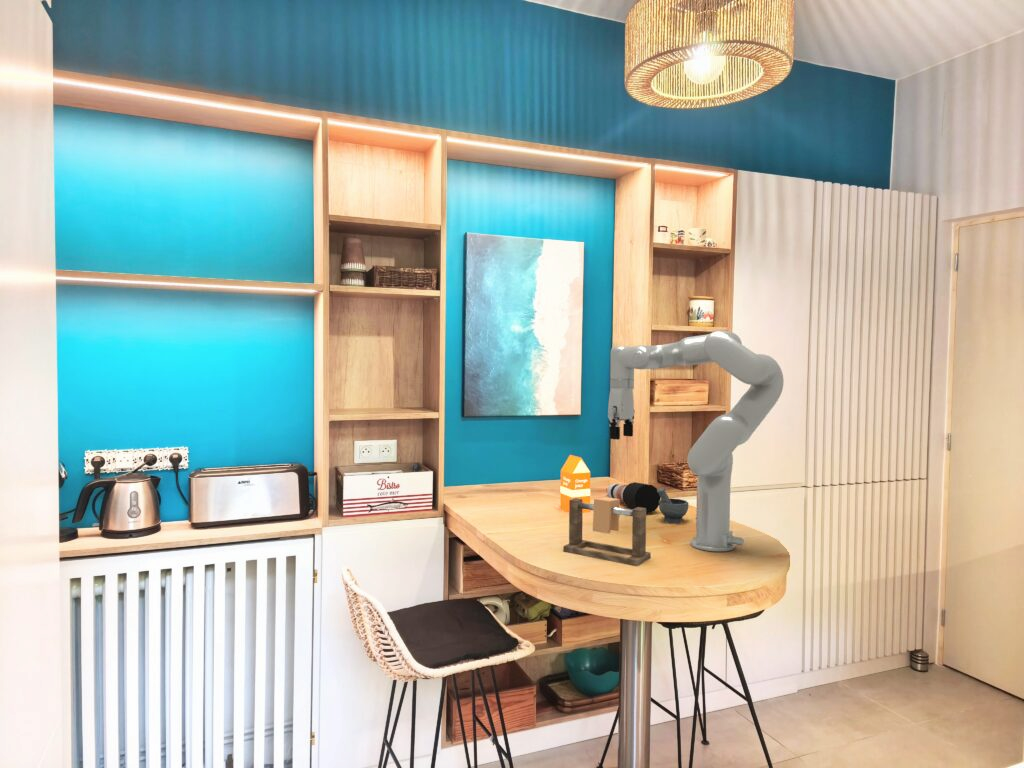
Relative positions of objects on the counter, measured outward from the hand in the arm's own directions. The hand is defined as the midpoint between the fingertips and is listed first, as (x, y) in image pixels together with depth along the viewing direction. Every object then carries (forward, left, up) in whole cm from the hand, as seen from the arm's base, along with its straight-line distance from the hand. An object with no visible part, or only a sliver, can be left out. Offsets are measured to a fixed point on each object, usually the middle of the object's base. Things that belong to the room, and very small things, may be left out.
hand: (621, 437), depth 211 cm
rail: (-8, +26, -18) cm, 33 cm away
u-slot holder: (-8, +27, -23) cm, 36 cm away
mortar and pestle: (-9, -21, -31) cm, 38 cm away
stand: (-8, +26, -30) cm, 41 cm away
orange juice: (+26, -16, -31) cm, 43 cm away
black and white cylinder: (+14, -36, -31) cm, 49 cm away
